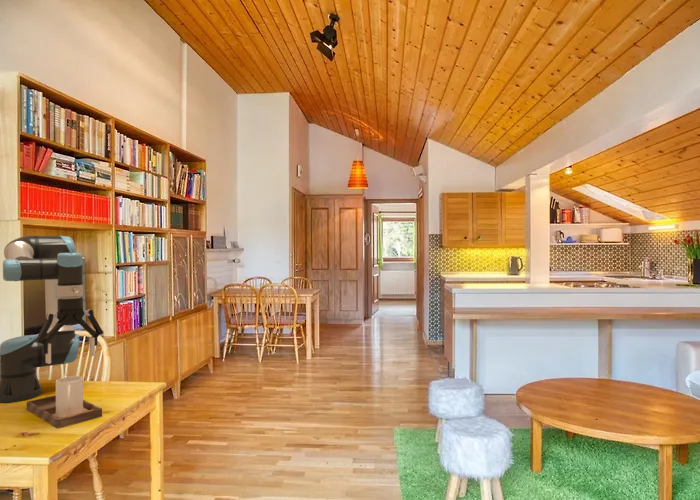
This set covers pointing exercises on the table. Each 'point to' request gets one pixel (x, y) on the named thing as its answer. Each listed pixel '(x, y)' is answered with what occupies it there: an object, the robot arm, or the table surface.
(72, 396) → the mug
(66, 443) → the table surface
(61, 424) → the rack
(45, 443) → the table surface
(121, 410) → the table surface
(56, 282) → the robot arm
